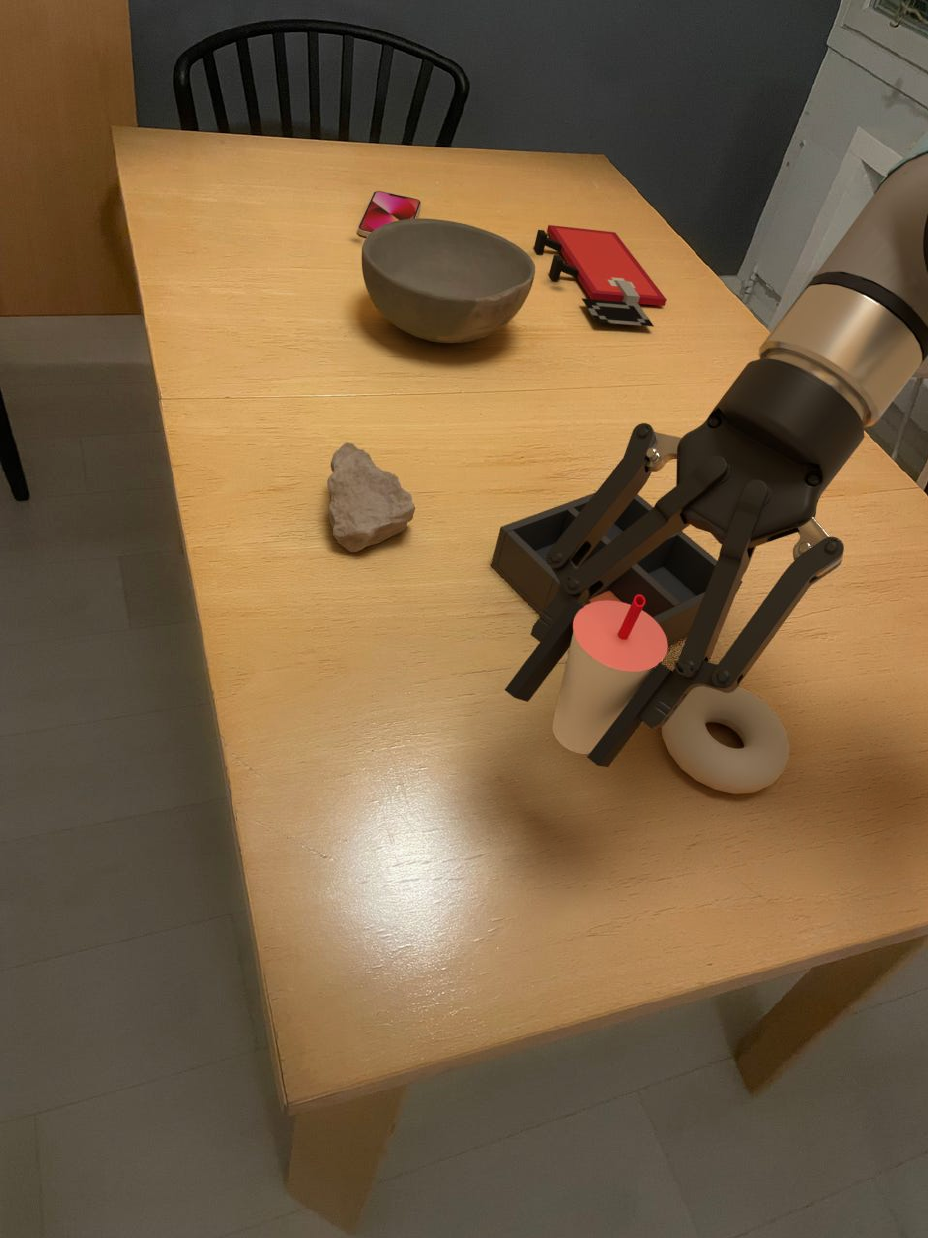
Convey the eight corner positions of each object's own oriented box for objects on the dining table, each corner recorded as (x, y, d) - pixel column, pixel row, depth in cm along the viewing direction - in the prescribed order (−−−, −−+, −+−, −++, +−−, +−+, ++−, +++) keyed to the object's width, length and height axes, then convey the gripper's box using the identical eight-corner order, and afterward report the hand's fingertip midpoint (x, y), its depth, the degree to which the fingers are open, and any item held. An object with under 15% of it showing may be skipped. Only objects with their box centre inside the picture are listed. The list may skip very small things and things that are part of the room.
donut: (685, 679, 74) (633, 752, 67) (700, 652, 71) (648, 724, 65) (794, 745, 71) (752, 827, 64) (814, 718, 68) (772, 800, 62)
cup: (617, 777, 53) (686, 642, 44) (531, 754, 53) (583, 615, 44) (623, 710, 56) (687, 575, 48) (543, 689, 57) (592, 550, 48)
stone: (293, 498, 81) (295, 446, 77) (369, 480, 85) (375, 429, 81) (342, 565, 76) (347, 513, 72) (421, 542, 80) (431, 492, 76)
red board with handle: (580, 327, 114) (683, 335, 118) (586, 307, 112) (690, 315, 117) (523, 231, 134) (612, 241, 139) (527, 212, 132) (617, 223, 137)
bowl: (439, 278, 118) (450, 202, 111) (550, 347, 110) (570, 270, 103) (321, 311, 107) (325, 228, 99) (436, 391, 98) (449, 307, 91)
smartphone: (356, 229, 122) (374, 189, 133) (355, 236, 123) (373, 196, 134) (408, 240, 123) (422, 199, 133) (407, 247, 123) (421, 206, 134)
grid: (723, 618, 80) (743, 581, 76) (603, 680, 72) (620, 643, 69) (609, 518, 87) (623, 481, 84) (490, 565, 79) (500, 526, 76)
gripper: (956, 501, 48) (696, 833, 50) (681, 350, 55) (463, 644, 57) (981, 453, 41) (678, 840, 43) (664, 288, 48) (416, 624, 50)
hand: (556, 727), depth 50 cm, fingers closed on cup, 5 cm apart
